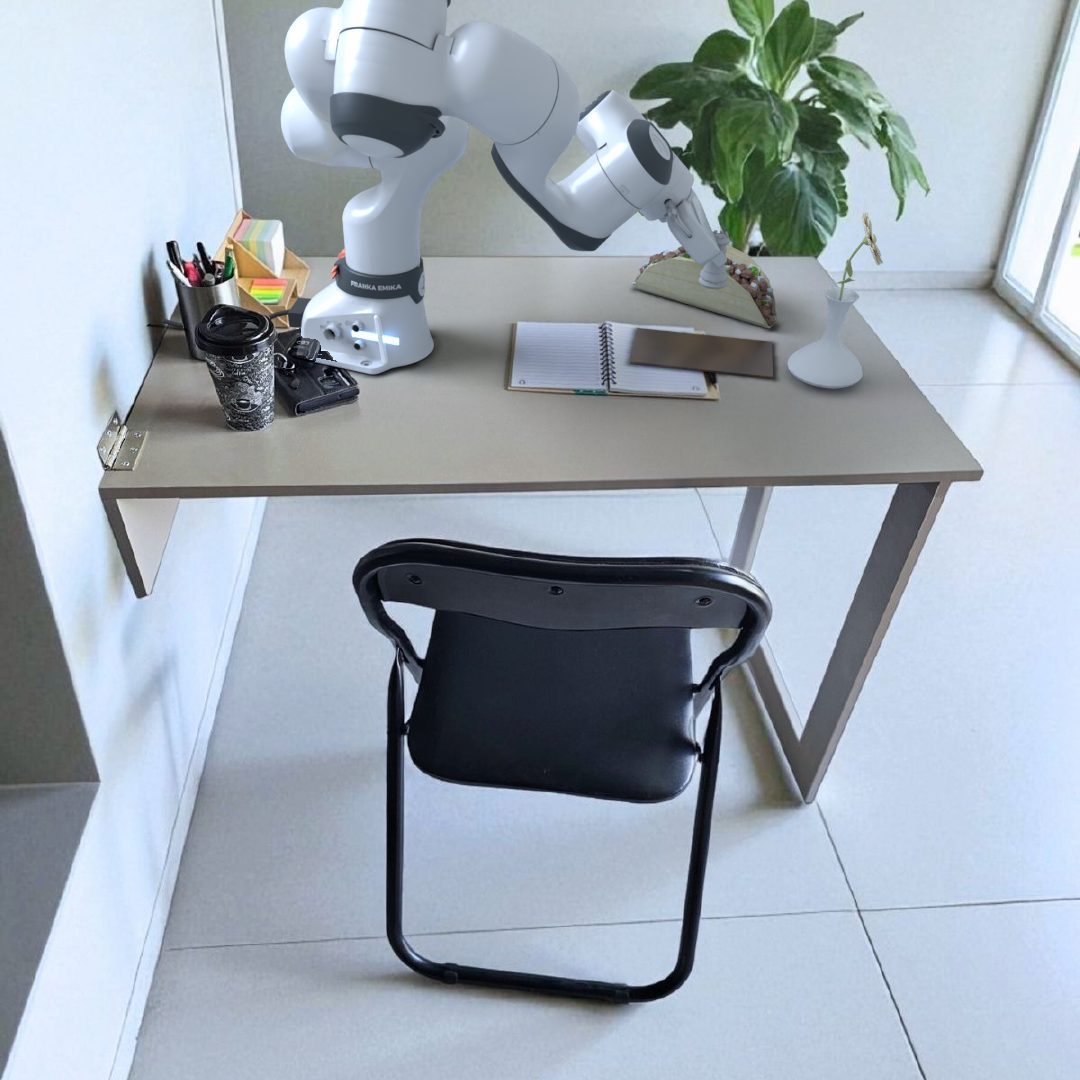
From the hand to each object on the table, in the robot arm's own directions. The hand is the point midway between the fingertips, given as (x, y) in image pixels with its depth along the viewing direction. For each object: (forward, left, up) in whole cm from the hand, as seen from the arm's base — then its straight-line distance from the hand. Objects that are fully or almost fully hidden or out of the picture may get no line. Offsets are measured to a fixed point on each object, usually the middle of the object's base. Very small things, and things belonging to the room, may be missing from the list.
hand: (720, 256), depth 156 cm
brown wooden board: (-1, 0, -16) cm, 16 cm away
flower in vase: (+18, -3, -16) cm, 25 cm away
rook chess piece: (-1, 0, -5) cm, 5 cm away
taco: (-1, +18, -16) cm, 24 cm away
